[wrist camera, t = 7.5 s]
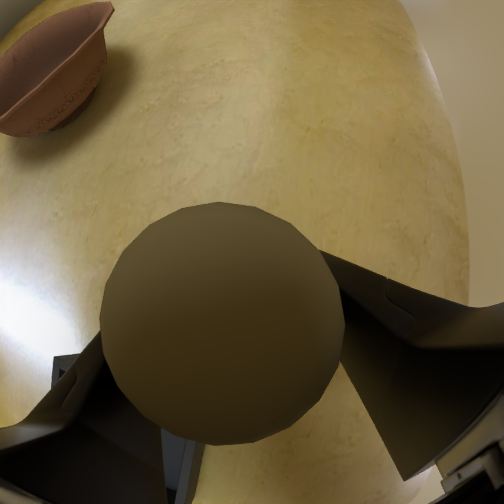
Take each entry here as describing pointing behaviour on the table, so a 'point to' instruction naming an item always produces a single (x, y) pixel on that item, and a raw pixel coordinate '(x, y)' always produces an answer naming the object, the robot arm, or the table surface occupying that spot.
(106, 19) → the bowl
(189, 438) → the cork
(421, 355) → the robot arm
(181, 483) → the dark grey square box
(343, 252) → the table surface
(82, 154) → the table surface
